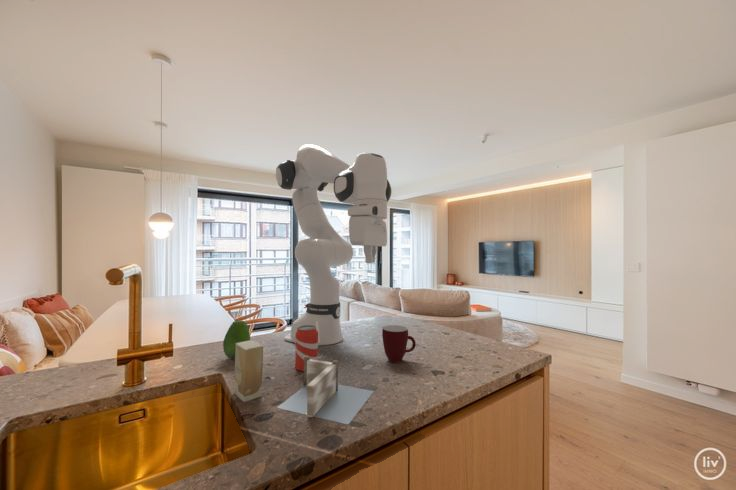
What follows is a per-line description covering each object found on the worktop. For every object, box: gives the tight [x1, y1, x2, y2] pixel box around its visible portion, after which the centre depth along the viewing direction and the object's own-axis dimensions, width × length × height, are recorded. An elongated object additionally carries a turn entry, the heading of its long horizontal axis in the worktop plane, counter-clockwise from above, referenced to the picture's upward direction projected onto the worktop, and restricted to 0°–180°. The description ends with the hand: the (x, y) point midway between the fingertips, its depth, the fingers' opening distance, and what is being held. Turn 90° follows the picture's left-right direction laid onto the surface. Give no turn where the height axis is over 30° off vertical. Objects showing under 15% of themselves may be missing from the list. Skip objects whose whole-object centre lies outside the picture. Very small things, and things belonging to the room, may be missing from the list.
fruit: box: [222, 319, 251, 361], centre depth 95 cm, size 8×8×12 cm
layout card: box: [276, 384, 374, 426], centre depth 69 cm, size 17×15×1 cm
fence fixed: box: [303, 356, 339, 391], centre depth 75 cm, size 9×1×7 cm, turn 69°
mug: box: [381, 324, 417, 363], centre depth 95 cm, size 11×8×10 cm
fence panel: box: [306, 364, 336, 418], centre depth 66 cm, size 12×1×6 cm, turn 163°
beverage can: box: [294, 325, 319, 372], centre depth 87 cm, size 6×6×12 cm
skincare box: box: [233, 339, 264, 403], centre depth 71 cm, size 6×4×12 cm
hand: (370, 262), depth 82 cm, fingers closed
